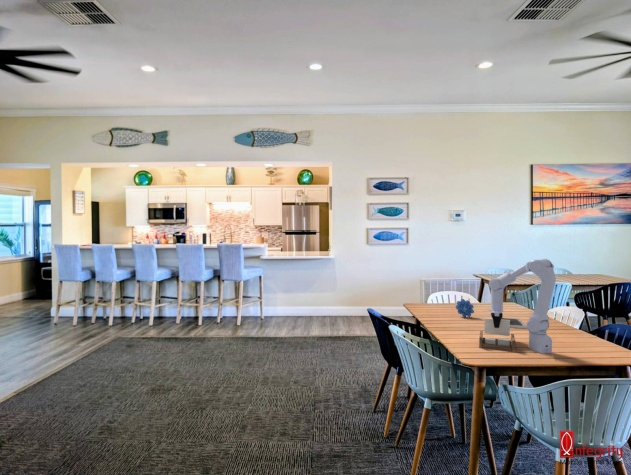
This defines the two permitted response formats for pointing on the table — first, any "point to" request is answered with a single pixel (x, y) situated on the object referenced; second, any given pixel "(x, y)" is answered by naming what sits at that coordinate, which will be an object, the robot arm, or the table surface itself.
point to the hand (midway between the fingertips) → (496, 327)
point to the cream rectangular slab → (502, 330)
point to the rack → (496, 346)
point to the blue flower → (465, 308)
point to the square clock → (516, 323)
